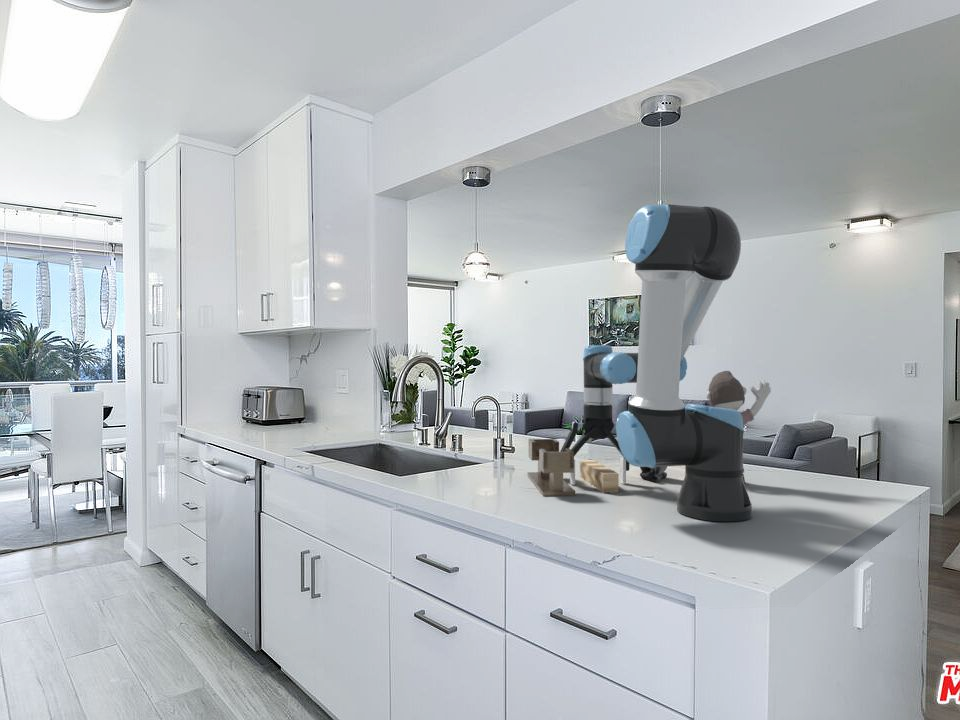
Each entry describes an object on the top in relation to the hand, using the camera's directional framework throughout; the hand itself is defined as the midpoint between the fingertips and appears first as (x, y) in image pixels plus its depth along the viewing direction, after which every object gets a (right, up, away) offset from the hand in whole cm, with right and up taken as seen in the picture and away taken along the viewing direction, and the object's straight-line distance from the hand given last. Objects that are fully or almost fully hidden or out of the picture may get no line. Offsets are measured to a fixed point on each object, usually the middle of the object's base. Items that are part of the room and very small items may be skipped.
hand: (597, 483), depth 161 cm
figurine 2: (+37, 0, +1) cm, 37 cm away
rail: (0, 0, 0) cm, 0 cm away
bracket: (-13, 0, -1) cm, 13 cm away
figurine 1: (+17, 0, +6) cm, 18 cm away
